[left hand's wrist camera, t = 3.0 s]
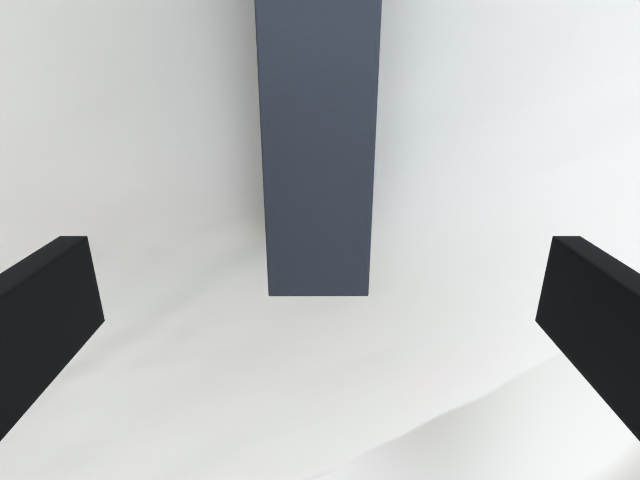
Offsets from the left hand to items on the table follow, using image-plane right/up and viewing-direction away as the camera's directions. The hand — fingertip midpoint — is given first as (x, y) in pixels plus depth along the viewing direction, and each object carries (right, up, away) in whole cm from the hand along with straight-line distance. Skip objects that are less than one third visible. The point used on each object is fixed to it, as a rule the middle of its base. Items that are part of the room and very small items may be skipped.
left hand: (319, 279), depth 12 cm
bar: (0, +12, +12) cm, 17 cm away
